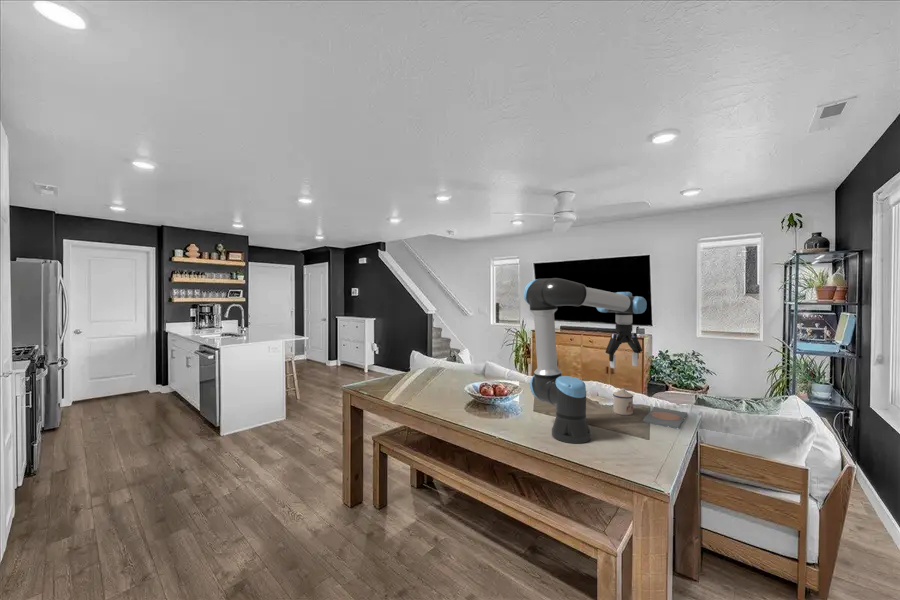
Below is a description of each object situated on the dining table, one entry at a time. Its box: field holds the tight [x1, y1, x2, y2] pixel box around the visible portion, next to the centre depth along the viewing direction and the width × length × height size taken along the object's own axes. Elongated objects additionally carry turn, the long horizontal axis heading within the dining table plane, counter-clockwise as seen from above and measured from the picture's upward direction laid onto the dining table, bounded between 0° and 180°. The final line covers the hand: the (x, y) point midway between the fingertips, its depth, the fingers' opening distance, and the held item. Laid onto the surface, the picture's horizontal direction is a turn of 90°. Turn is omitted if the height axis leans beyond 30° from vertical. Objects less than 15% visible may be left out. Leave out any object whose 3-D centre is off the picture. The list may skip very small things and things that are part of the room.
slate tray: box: [642, 406, 688, 430], centre depth 176 cm, size 24×14×1 cm, turn 141°
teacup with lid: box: [612, 387, 634, 416], centre depth 186 cm, size 12×9×12 cm
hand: (624, 367), depth 185 cm, fingers open, 13 cm apart
